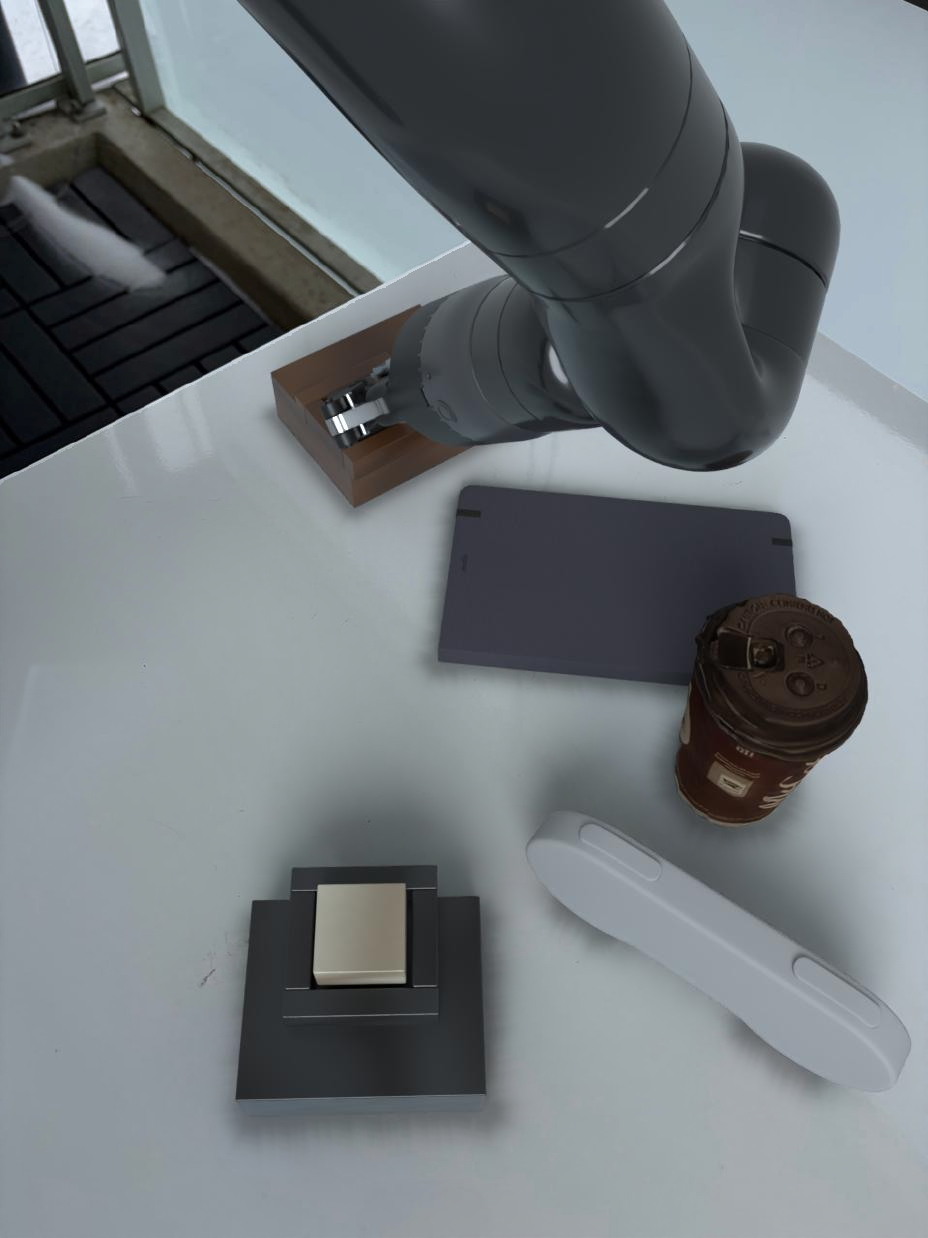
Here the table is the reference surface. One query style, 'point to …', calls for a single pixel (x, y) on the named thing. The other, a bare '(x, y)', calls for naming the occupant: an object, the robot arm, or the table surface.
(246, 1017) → the key block
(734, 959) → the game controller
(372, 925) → the ivory key
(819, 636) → the coffee cup
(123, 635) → the table surface
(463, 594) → the notebook
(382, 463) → the key block
